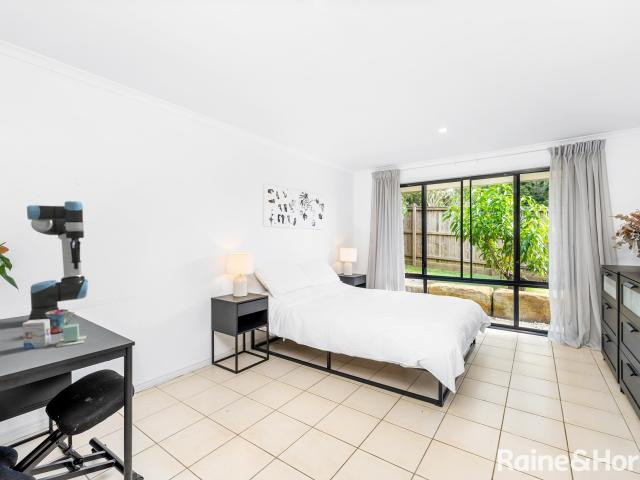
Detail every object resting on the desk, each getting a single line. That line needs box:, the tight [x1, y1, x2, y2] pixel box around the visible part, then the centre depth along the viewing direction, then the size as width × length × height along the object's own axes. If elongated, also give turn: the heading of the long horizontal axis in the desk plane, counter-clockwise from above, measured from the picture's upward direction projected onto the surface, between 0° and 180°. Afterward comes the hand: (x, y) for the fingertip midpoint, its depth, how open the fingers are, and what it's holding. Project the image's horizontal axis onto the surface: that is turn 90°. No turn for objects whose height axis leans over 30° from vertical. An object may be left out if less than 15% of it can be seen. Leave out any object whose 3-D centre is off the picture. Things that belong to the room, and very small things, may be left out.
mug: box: [45, 308, 75, 334], centre depth 166 cm, size 12×9×11 cm
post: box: [55, 334, 88, 348], centre depth 150 cm, size 12×10×7 cm
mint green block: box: [62, 323, 80, 342], centre depth 150 cm, size 5×5×7 cm
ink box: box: [22, 319, 52, 350], centre depth 145 cm, size 9×5×12 cm, turn 106°
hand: (76, 274), depth 167 cm, fingers closed
